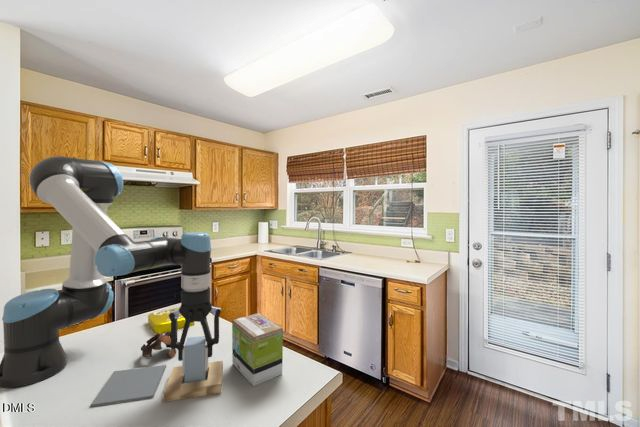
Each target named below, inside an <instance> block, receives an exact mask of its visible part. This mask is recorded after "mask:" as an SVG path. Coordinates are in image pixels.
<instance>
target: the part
mask: <svg viewBox="0 0 640 427" xmlns="http://www.w3.org/2000/svg"><path fill="white" fill-rule="evenodd" d="M206 344H207V342H206V339H205V335H201V336H191V337H186V340H185V343H184V346H185V382H184V383H190V382H197V381H204V380H206V377H207V376H206V371H205V345H206Z"/></svg>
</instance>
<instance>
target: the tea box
mask: <svg viewBox="0 0 640 427" xmlns="http://www.w3.org/2000/svg"><path fill="white" fill-rule="evenodd" d="M231 324H232V327H231V330H232V334H231V336H232V342H231V345H232V348H231V349H232V350H231V351H232V357H231V358H232V360H231V362H232V364H233V365H234V367H235V368H236V369H237V370H238V371H239V372H240V373H241V374H242V375H243V377H244V378H246V379H247V381H248V382H249V383H250V384H251V385H252V386H253V387H256V386H258V385H261V384H262V383H265V382H268V381H270V380H273V379H274V378H276V377H278V376H280V375H283V367H284V366H283V357H284V356H283V354H284V353H283V352H284V349H283V347H284V346H283V344H284V343H283V342H284V336H283V334H284V333H283V332H284V331H283V330H284V328H283V327H282V326H280V325H279V324H278V323H276V322H274V321H273V320H271V319H270V318H268V317H267V316H265V315H264V314H262V313H260V312H258V313H253V314H250V315H246V316H242V317H239V318H236V319H232V321H231Z"/></svg>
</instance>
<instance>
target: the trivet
mask: <svg viewBox="0 0 640 427" xmlns="http://www.w3.org/2000/svg"><path fill="white" fill-rule="evenodd" d="M166 368H167V364H161V365H154V366H153V365H152V366H145V367H139V368H138V367H137V368H130V369H123V370H115V371H113V372H112V374H111V375H110V376H109V378H108V379H107V381H106V382H105V384H104V385H103V387H102V388H101V390H100V391H99V392H98V393H97V395H96V397H94V399H93V400H92V402H91V403H90V406H89V407H90V408H92V407H100V406H106V405H115V404H119V403H126V402H127V403H128V402H132V401H133V402H134V401H140V400H146V399H153V398H154V397H155V394H156V391H157V390H158V389H159V388H158V387H159V385H160V382H161V380H162V377H163V375H164V373H165V370H166Z"/></svg>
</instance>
